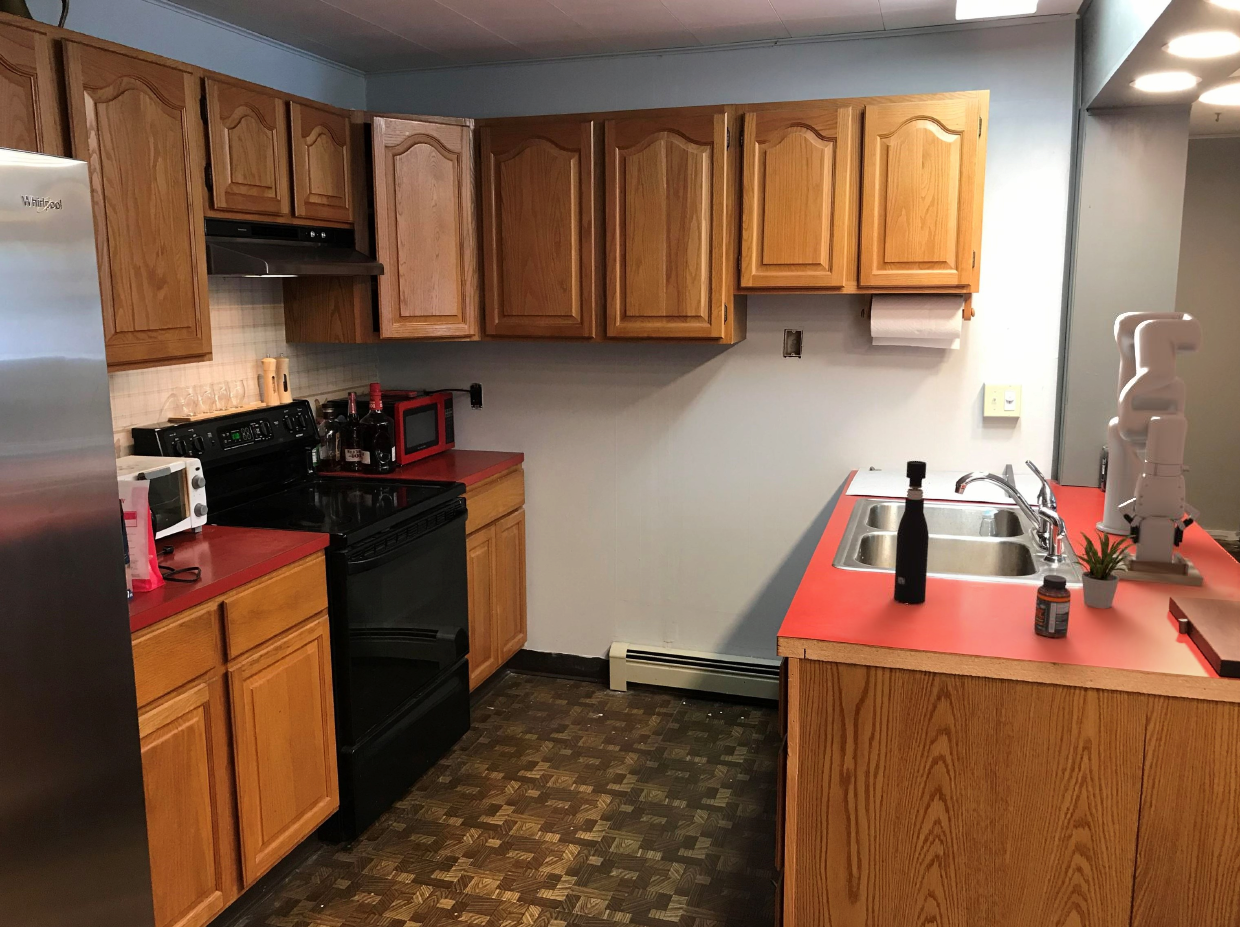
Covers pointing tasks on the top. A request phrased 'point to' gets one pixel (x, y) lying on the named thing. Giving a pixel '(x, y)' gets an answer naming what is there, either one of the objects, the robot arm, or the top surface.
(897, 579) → the black insulated water bottle
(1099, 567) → the house plant
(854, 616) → the top surface
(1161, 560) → the can
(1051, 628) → the supplement bottle
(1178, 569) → the dock
